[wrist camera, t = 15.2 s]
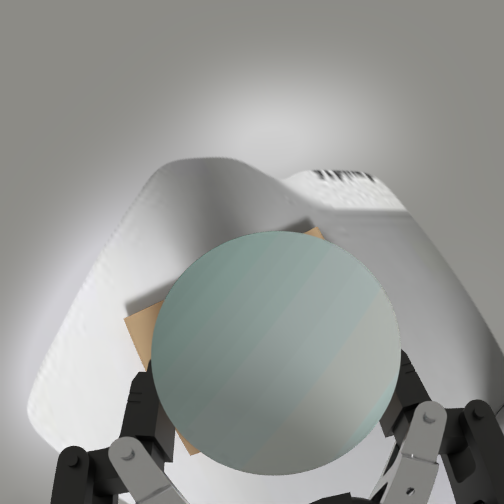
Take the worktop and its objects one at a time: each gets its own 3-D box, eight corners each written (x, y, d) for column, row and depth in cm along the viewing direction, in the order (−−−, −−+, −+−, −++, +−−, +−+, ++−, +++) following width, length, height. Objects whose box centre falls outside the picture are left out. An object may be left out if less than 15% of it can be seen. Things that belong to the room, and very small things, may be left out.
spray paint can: (203, 351, 26) (96, 369, 7) (250, 293, 27) (256, 177, 8) (263, 397, 25) (299, 519, 6) (309, 339, 26) (445, 322, 7)
